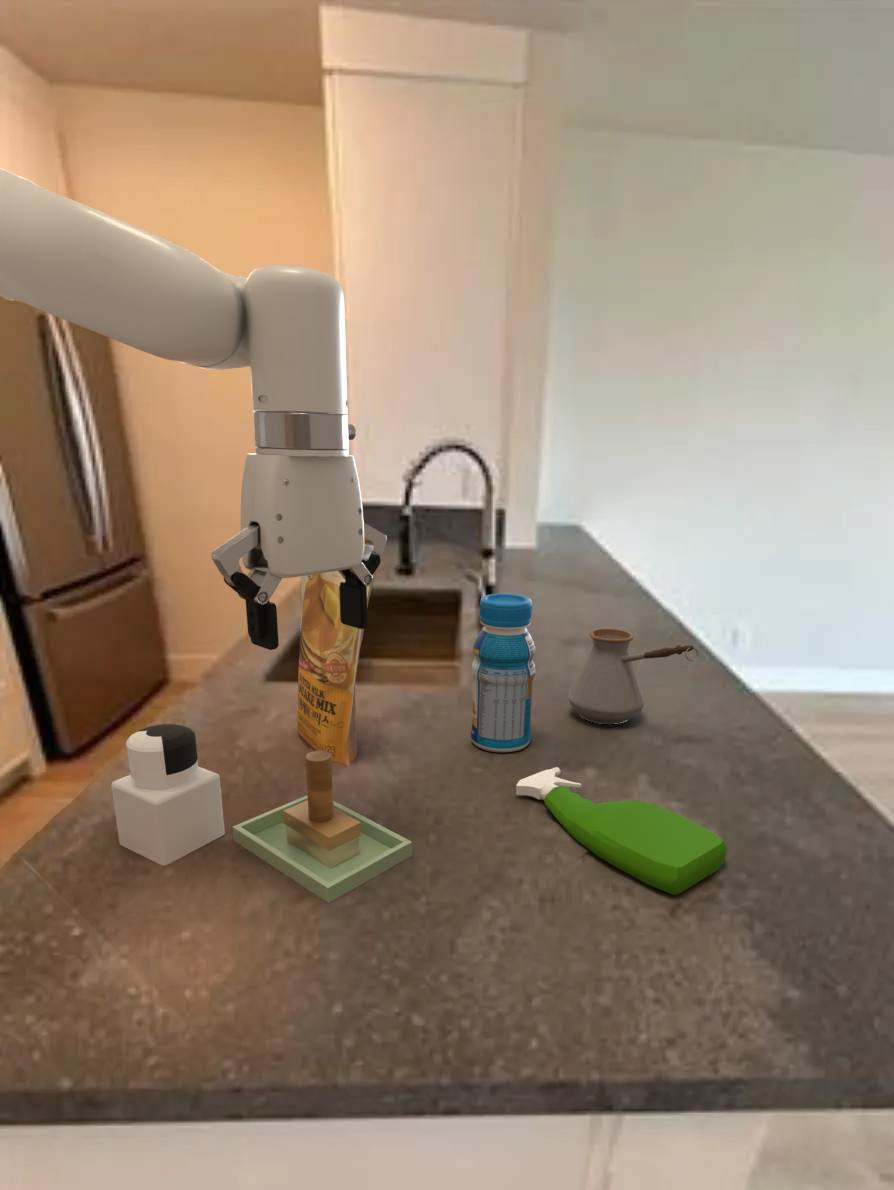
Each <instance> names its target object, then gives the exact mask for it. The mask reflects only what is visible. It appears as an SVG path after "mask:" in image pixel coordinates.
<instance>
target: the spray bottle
mask: <svg viewBox="0 0 894 1190" xmlns="http://www.w3.org/2000/svg"><path fill="white" fill-rule="evenodd" d="M559 775H561V769H560V768H559V767H557V766H556V767H552V768H550V769H549V768H548V769H545V770H542V771H539V772H536V773H534V774H531V775H529V776H526V777H524V778H521V779H519V780H518V782H517V783H516V785H515V795H516V796H526V797H527V796H528V797H532V798H534V799H537V800H542V801H544V805H545V806H546V807H547V809H548V810H549V811H550V813H551V814H552V815H553V817H555V818H556V820H557V821H558V822H559V824H560V825H562V827H563V828H564V829H565V830H566V831H567V832H568V833H569V834H570V835H571V837H572V838H574V839H575V840H576V841H578V842H579V843H580V844H581V845H583V847H585V848H586V849H588V850H589V851H590V852H591V853H593V855H595V856H596V857H598V858H600V859H601V860H603V861H605V862H607V863H608V864H610V865H612V866H613V867H615V868H617V869H618V870H621V871H622V872H624V873H626V874H628V875H629V876H631V877H634V878H635V879H637V880H639V881H641V882H642V883H644V884H646V885H648V886H650V887H652V888H655V889H657V890H660V891H661V892H664V893H667V894H670V895H671V896H672V895H673V896H678V895H679V894H681V893H683V892H684V891H686V890H688V889H689V888H691V887H692V886H694V885H696V884H697V883H699V882H700V881H702V880H704V879H706V878H707V877H709V876H710V875H712V874H714V873H716V872H717V871H718V870H719V869H720V868H721V867H722V866H723V864H724V863H725V862H726V858H727V857H726V856H727V852H728V851H727V850H728V847H727V844H726V842H725V840H724V839H722V838H721V837H720V836H718V835H717V834H716V833H714V832H713V831H712V830H710V829H707V828H706V827H704V826H703V825H701V824H698V823H697V822H694V821H692V820H690V819H689V818H686V817H685V816H683V815H681V814H678V813H676V812H674V811H672V810H669V809H667V808H665V807H662V806H661V805H658V804H656V803H650V802H645V801H641V800H613V801H606V802H601V803H596V802H593V801H591V800H590V799H588V798H583V797H582V796H581V795H580V794H579V793H577V792H572V791H571V789H570V788H578V789H580V788H582V783H581V782H580V783H579V782H575V781H571V780H568V779H564V778H562V777H558V776H559Z"/></svg>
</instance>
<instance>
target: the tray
mask: <svg viewBox="0 0 894 1190" xmlns="http://www.w3.org/2000/svg"><path fill="white" fill-rule="evenodd" d="M307 800H308V796H307V795H305V796H302V797H300V798H297V799H295V800H292V801H290V802H288V803H285V804H283V805H281V806H279V807H276V808H273V809H271V810H269V811H266V812H264V813H262V814H259V815H257V816H254V817H252V818H250V819H248V820H245V821H243V822H240V823H238V824H236V825H233V826H232V837H233V841H234V842H235V843H237V844H238V845H240V846H241V847H243V848H244V849H246V850H247V851H248V852H250V853H252V854H254V855H255V856H256V857H258V858H259V859H261V860H263V861H264V862H266V863H267V864H269V866H272V867H273V868H275V869H276V870H278V871H279V872H281V873H282V874H283V875H285V876H287V877H288V878H290V879H291V880H293V881H294V882H295V883H298V884H299V885H301V886H302V887H303V888H305V889H306V890H307V891H309V892H311V893H313V894H314V895H316V896H317V897H319V898H320V899H321V900H323V901H325V902H326V903H328V904H330V903H332V902H333V901H335V900H336V899H339V898H340V897H341V896H344V895H345V894H348V893H349V892H351V891H352V890H354V889H357V888H358V887H360V886H361V885H363V884H364V883H366V882H368V881H370V880H372V879H374V878H375V877H377V876H379V875H380V874H382V873H384V872H386V871H388V870H390V869H391V868H393V867H395V866H396V865H398V864H400V863H402V862H404V861H405V860H408V859H409V858H410V857H412V856H413V842H412V841H411V840H410V839H407V838H406V837H404V836H402V835H400V834H398V833H396V832H394V831H392V830H390V829H388V828H387V827H385V826H383V825H381V824H379V823H377V822H375V821H373V820H371V819H369V818H368V817H365V816H364V815H362V814H359V813H358V812H356V811H354V810H352V809H350V808H348V807H347V806H344V805H343V804H340V803H339V802H337V801H335V800H333V808H335V809H336V810H338V811H340V812H342V813H344V814H346V815H348V816H350V817H352V818H353V819H355V820H357V821H359V822H361V836H359V854H357V855H355V856H353V857H351V858H349V859H347V860H345V861H343V862H341V863H340V864H338V865H336V866H334V867H332V868H330V867H328V866H327V865H325V864H323V863H322V862H320V861H318V860H317V859H315V858H313V857H312V856H310V855H309V854H307V853H305V852H304V851H302V850H300V849H299V848H297V847H295V846H294V845H292V844H291V843H289V842H287V833H286V825H285V824H284V823H283V810H286V809H288V808H290V807H293V806H295V805H297V804H300V803H302V802H304V801H307Z"/></svg>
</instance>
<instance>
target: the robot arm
mask: <svg viewBox="0 0 894 1190" xmlns="http://www.w3.org/2000/svg"><path fill="white" fill-rule="evenodd" d="M0 297H1V298H3V299H5V300H7V301H17V302H20V303H23V304H26V305H28V306H30V307H33V308H35V309H37V310H40V311H43V312H45V313H47V314H49V315H52V316H55V317H56V318H60V319H62V320H64V321H67V322H70V323H72V324H74V325H77V326H79V327H82V328H84V329H87V330H89V331H91V332H93V333H97V334H99V335H102V336H103V337H107V338H109V339H111V340H114V341H117V342H119V343H122V344H124V345H126V346H129V347H132V348H133V349H135V350H139V351H141V352H144V353H146V354H149V355H152V356H155V357H158V358H160V359H163V360H168V361H172V362H178V363H181V364H185V365H187V366H191V367H194V368H199V369H204V370H211V371H220V370H221V371H223V370H233V369H242V368H249V369H250V370H249V371H250V385H251V386H250V387H251V399H252V400H251V401H252V402H251V403H252V411H253V412H252V413H253V414H252V415H253V430H254V431H253V432H254V446H255V452H253V453H252V452H251V453H250V452H249V453H246V455H245V460H244V466H243V472H242V473H243V474H242V482H241V493H240V521H239V523H240V532H238V533H237V534H235V535H234V536H233V537H231V538H230V539H228V540H227V541H226V542H224V543H223V544H221V545H219V546H218V547H217V548H215V549H214V550H213V551H212V552H211V555H210V556H211V557H210V558H211V560H212V561H213V563H214V565H215V566H216V568H217V570H218V571H219V573H220V575H221V576H222V577H223V582H224V583H225V584H226V585H227V586H228V587H230V588H231V590H233V591H234V592H235V593H236V594H237V595H238V597H239V598H240V599H242V600H244V601H245V613H246V624H247V625H246V626H247V634H248V636H249V638H250V641H251V644H253V645H254V646H257V647H261V648H263V649H265V650H269V651H273V650H277V649H278V647H279V645H280V641H279V626H278V612H277V605H276V603H275V602H272V601H270V599H271V598H272V596H273V594H274V593H275V591H276V590H277V587H278V586H279V584H280V583H281V581H282V580H283V579H289V578H297V577H298V578H299V577H301V576H306V575H313V574H320V573H326V572H333V571H338V572H339V573H340V574H341V575H342V577H343V578H344V579H345V582H340V586H339V593H340V620H341V623H343V624H345V625H348V626H352V627H355V628H359V629H364V630H365V629H367V628H368V607H367V586H369V585H371V583H372V581H373V577H372V575H373V574H374V572H375V571H376V572H377V570H378V568H379V566H380V565H381V562H382V561H381V560H382V559H381V556H382V555H383V553H384V550H385V546H386V544H387V540H388V538H387V535H386V534H385V533H383V532H381V531H380V530H378V529H376V528H374V527H372V526H371V525H369V524H368V523H365V521H364V510H363V499H362V493H361V486H360V480H359V475H358V469H357V465H356V460H355V456H354V455H352V454H350V450H349V449H350V443H349V441H353V440H354V439H355V438H356V435H357V430H356V426H354V424H351V423H350V424H349V416H348V413H349V411H348V410H349V409H348V383H347V382H348V380H347V343H346V341H347V340H346V339H347V338H346V309H345V308H346V307H345V295H344V291H343V288H342V285H341V283H340V282H339V281H338V279H337V278H335V277H334V276H333V275H332V274H330V273H328V272H325V271H323V270H320V269H316V268H311V267H306V266H300V265H299V266H297V265H286V264H283V265H282V264H275V265H265V266H264V265H263V266H261V267H258V268H255V269H253V270H252V271H251V272H250V273H249V275H248V277H245V276H238V275H232V274H230V273H228V272H225V271H223V270H220V269H218V268H217V267H215V266H213V264H211V263H209V262H208V261H206V260H205V259H203V258H202V257H200V256H199V255H198V254H195V253H193V251H190V250H189V249H186V248H185V247H183V246H181V245H179V244H176V243H175V242H172V241H170V240H168V239H166V238H163V237H162V236H159V235H156V234H154V233H152V232H150V231H147V230H145V229H142V228H140V227H138V226H135V225H134V224H131V223H129V222H127V221H124V220H121V219H119V218H117V217H114V216H112V215H110V214H107V213H106V212H103V211H100V210H98V209H96V208H93V207H91V206H89V205H86V204H84V203H82V202H79V201H76V200H75V199H71V198H69V197H66V196H64V195H61V194H59V193H58V192H54V191H53V190H49V189H47V188H44V187H42V186H40V185H38V184H36V183H35V182H33V181H32V180H30V179H28V178H25V177H23V176H20V175H18V174H16V173H13V172H11V171H9V170H6V169H4V168H1V167H0ZM364 541H365V543H366V546H365V549H364ZM364 550H365V552H364ZM240 559H241V560H242V564H243V566H244V568H246V569H247V570H249V572H248V573H247V574H246V573H244V572H243V570H242V568H241V566H240Z"/></svg>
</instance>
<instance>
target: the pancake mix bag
mask: <svg viewBox="0 0 894 1190" xmlns="http://www.w3.org/2000/svg"><path fill="white" fill-rule="evenodd" d="M365 546H366V543H365V541H364V549H365ZM364 552H365V550H364ZM376 572H377V570H376V571H375V572H374V574H373V575H372V577H373V581H372V583H371V585H369V586H367V608H368V607H369V601H370V597H371V593H372V589H373V585H374V582H375V579H376ZM340 582H345V579H344V578H343V577H342V575H341V574H340V573H339V572H338V571H333V572H326V573H320V574H313V575H306V576H300V594H299V595H300V615H299V649H298V650H299V655H298V677H297V705H296V724H297V725H296V727H297V732H298V734H299V737H300V738H301V739H302V740H303V741H304V742H305V743H306V744H307V745H308V746H309V747H310V748H311V749H314V751H327V752H329V753H330V754H331V759H332V763H342V764H344V765H346V767H347V766H348V767H349V766H350V765H351V764H352V762H353V761H354V760H355V759H356V758H357V753H358V743H357V742H358V741H357V738H356V737H357V725H356V679H357V672H358V666H359V665H358V664H359V658H360V651H361V647H362V641H363V637H364V631H365V628H364V629H359V628H355V627H352V626H348V625H345V624H343V623H341V620H340V593H339V586H340Z"/></svg>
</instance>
